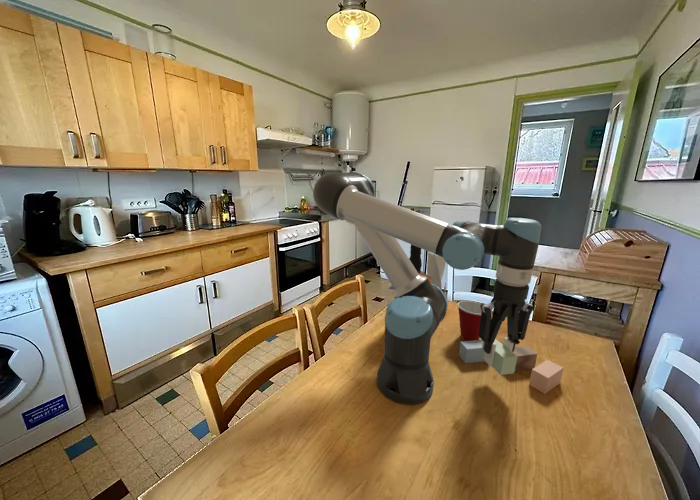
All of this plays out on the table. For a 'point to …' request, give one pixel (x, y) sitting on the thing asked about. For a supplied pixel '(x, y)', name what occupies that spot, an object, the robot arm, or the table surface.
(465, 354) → the slate block
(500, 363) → the sage block
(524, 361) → the walnut block
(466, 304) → the plastic cup
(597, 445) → the table surface
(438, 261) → the skyscraper
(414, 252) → the whiskey bottle
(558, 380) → the terracotta block
